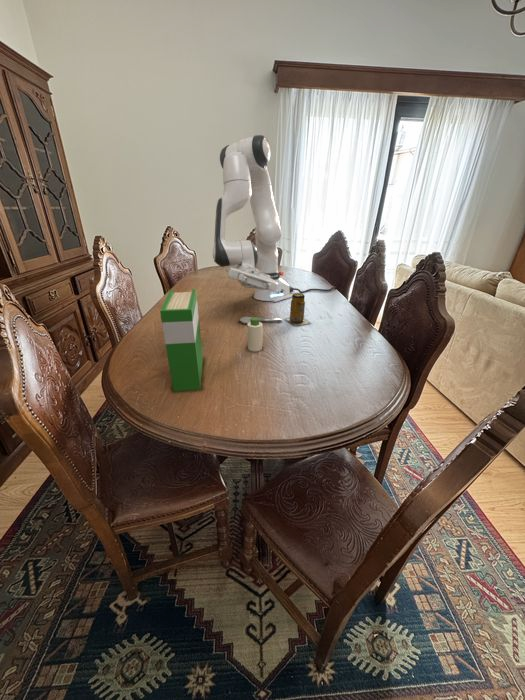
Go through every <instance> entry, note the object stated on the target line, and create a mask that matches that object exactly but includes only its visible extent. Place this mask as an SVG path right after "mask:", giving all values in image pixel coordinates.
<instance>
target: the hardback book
mask: <svg viewBox="0 0 525 700" xmlns="http://www.w3.org/2000/svg"><path fill="white" fill-rule="evenodd" d="M197 295H198V294H197V289H196V288H193V289H192V291H183V292H175V290H174V289H169V292H168V293H167V296H166V298H165V300H164V302H163V304H162V306H161V308H160V310H159V313H160V319H161V325H162V332H163V336H164V337H163V338H164V343H165V349H166V355H167V360H168V361H167V362H168V367H169V372H170V378H171V383H172V384H171V385H172V391H173V392H185V391H186V392H187V391H199V390H201V388H202V387H201V386H202V375H203V363H204V356H203V347H202V346H203V345H202V335H201V325H200V315H199V305H198V296H197Z"/></svg>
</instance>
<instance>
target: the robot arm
mask: <svg viewBox="0 0 525 700" xmlns="http://www.w3.org/2000/svg"><path fill="white" fill-rule="evenodd" d="M271 155H272V154H271V146H270V143H269V140H268V139H267V138H266V137H265V136H264V135H262V134H257V135H254V136H249V137H245V138H242V139H239V140H238V141H236V142H235V141H234V142H233V143H231V144H228V145H227V144H226V145H225V146H224V147H223V148H222V149H221V150H220V153H219V163H220V166H221V167H222V181H223V191H222V192H223V193H222V195H221V197H220V198H218V200H217V202H216V209H215V221H214V222H215V224H214V242H213V248H212V259H213V262H214V263H215V264H216V265H218V267H221V268H224V267H228V268H226V269H225V272H227V277H228V279H231V280H234V281H237V282H238V283H239V284H240V285H241V286H243V287H244V288H246V289H254V294H253V299H255V300H257V301H262V302H273V303H274V302H275V303H277V302H280V301H283V300H287V299H291V298H292V295H293V294H294V291H298V293H301V294H304V293H307V292H311V291H320V292H330V291H332V290H333V289H334V290H337V287H336V286H332V287H330V288H329V289H327V288H325V289H324V288H309V289H306V290H301V289H299V288H297V287H293V286H290V285H289V283H288V282H287V281H285V280H284V279H283V278H282V277H283V276H284V274H285V273H284V272H283V271H279V270H278V269H279V268H278V267H279V266H278V265H279V253H278V252H279V251H278V242H279V241H280V240H281V238H282V229H281V228H282V227H281V223H280V219H279V214H278V211H277V207H276V204H275V198H274V193H273V187H272V182H271V181H272V180H271V177H270V173H269V170H268V167H267V166H268V165H269V163H270V159H271ZM249 203H250V206H251V211H252V215H253V218H254V222H255V228H254V235H255V236H254V238H255V244H254V242H253V241H252V240H250V239H242V240H226V239H225V236H226V222H227V218H228V217H229V216H230V215H232V214H234V213H235V212H237V211H239V210H241V209H243V208H245V207H246V206H247V205H248V204H249ZM229 266H230V267H229Z"/></svg>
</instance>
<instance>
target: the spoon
mask: <svg viewBox="0 0 525 700" xmlns="http://www.w3.org/2000/svg"><path fill="white" fill-rule="evenodd" d="M251 318H252V317H250V316H242V317H241V318H240V319H239V323H240V324H242V325H247V324H248V323H249V322H251ZM282 321H283V320H282V318H259V322H261V323H282Z"/></svg>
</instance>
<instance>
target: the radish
mask: <svg viewBox="0 0 525 700" xmlns="http://www.w3.org/2000/svg"><path fill="white" fill-rule="evenodd" d="M259 319H260V318H259V317H257V316H253V317H252V318H251V322H249V323H248V324H246V325H247V350H248V351H250V352H260V351H262V349H263V322H259Z"/></svg>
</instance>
